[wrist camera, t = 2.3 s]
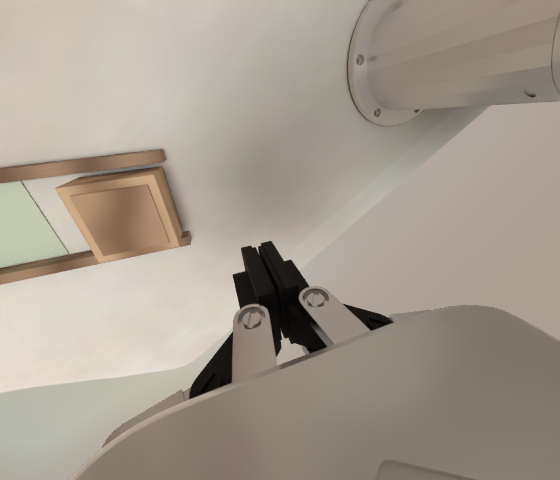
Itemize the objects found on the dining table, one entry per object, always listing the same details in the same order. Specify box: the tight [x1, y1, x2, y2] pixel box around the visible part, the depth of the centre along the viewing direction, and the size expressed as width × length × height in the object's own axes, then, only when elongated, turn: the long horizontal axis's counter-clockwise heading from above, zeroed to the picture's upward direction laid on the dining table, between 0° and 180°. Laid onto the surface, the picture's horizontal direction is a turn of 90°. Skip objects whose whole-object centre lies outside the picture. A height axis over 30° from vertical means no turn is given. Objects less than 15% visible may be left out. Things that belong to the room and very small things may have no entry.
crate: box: [55, 167, 183, 263], centre depth 21 cm, size 7×7×4 cm
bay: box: [0, 149, 191, 285], centre depth 21 cm, size 23×10×2 cm, turn 95°
